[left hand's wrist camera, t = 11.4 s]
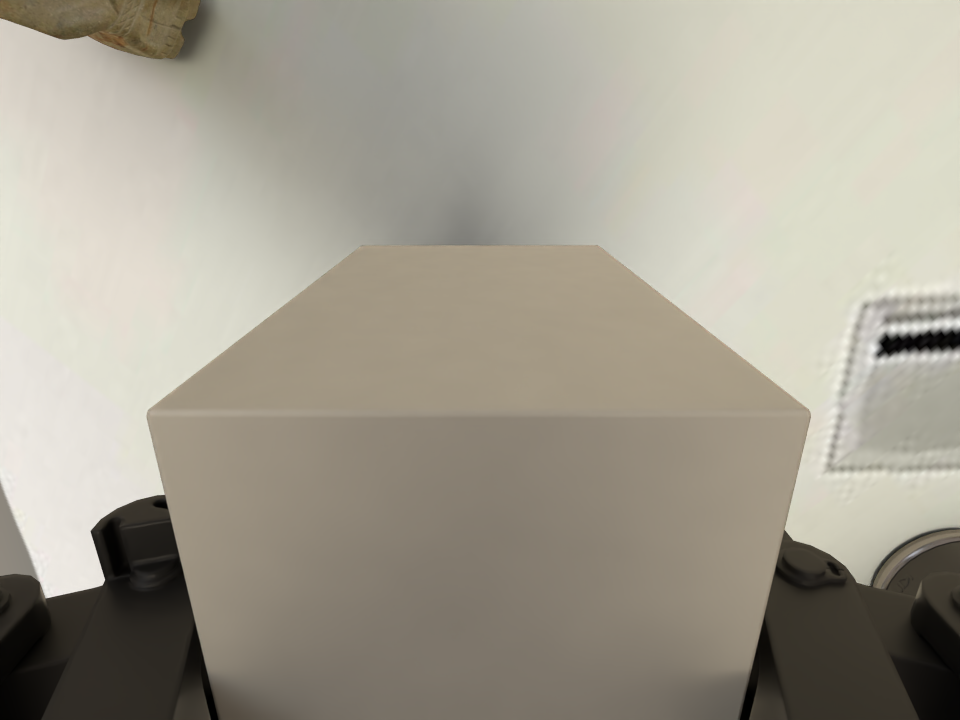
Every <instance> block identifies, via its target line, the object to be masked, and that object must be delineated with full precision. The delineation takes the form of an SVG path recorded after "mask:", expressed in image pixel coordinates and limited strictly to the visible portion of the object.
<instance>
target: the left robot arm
mask: <svg viewBox="0 0 960 720" xmlns="http://www.w3.org/2000/svg"><path fill="white" fill-rule="evenodd" d="M91 534H92V538H93V541H94V544H95V547H96V551H97V554H98V557H99V561H100V564H101V567H102V571H103V574H104V577H105V582H104V584H103V586H99V587H96V588H92V589H88V590H83V591H78V592H74V593H69V594H65V595H60V596H55V597H51V598H46V599H45V596H44V593H43V590H42V588H41V585H40V582H38V581H37V580H36V579H35V578H33V577H32V576H29V575H20V574H11V575H5V576H0V720H219V719H218V715H217V711H216V707H215V703H214V698H213V694H212V690H211V686H210V682H209V677H208V673H207V669H206V665H205V661H204V656H203V652H202V648H201V644H200V640H199V635H198V631H197V627H196V623H195V618H194V614H193V610H192V606H191V602H190V597H189V593H188V589H187V585H186V581H185V576H184V572H183V568H182V564H181V560H180V555H179V551H178V547H177V543H176V539H175V534H174V530H173V526H172V522H171V518H170V513H169V509H168V505H167V501H166V497H165V495H157V496H153V497H148V498H144V499H140V500H136V501H134V502H132V503H129V504H127V505H125V506H122V507H120V508H117V509H116V510H114V511H113V512H111V513H110V514H108V515H107V516H105V517H104V518H102V519H101V520H100V521H99V522H98V523H97V524H96V526H95V527H94V528H93V529H92V530H91ZM740 720H960V574H959V573H953V572H938V573H930V574H929V575H928V576H926V577H925V578H924V579H922V581H921V583H920V586H919V589H918V592H917V595H916V596H912V595H907V594H903V593H898V592H893V591H889V590H884V589H879V588H875V587H870V586H866V585H863V584H859V583H856V581H855V579H854V577H853V576H852V575H851V573H850V572H849V571H848V569H847V568H846V567H845V566H844V565H843V564H842V563H840V562H839V561H838V560H836V559H835V558H834V557H832V556H831V555H830V554H828V553H825V552H823V551H821V550H819V549H817V548H815V547H813V546H811V545H807V544H803V543H800V542H796V541H793V540H792V538H791V537H790V536H789V535H788V534H787V532H786V531H785V530H784V533H783V538H782V542H781V546H780V550H779V555H778V559H777V563H776V567H775V572H774V576H773V580H772V584H771V589H770V593H769V597H768V601H767V606H766V610H765V614H764V619H763V623H762V627H761V631H760V636H759V640H758V644H757V648H756V653H755V657H754V661H753V665H752V670H751V674H750V678H749V682H748V687H747V691H746V695H745V700H744V704H743V708H742V712H741V717H740Z"/></svg>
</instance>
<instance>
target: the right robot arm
mask: <svg viewBox="0 0 960 720" xmlns="http://www.w3.org/2000/svg"><path fill="white" fill-rule="evenodd" d="M938 572H953V573H959V574H960V530H945V531H940V532H935V533H932V534H928V535H925V536H923V537H920V538H918V539H916V540H914V541H912V542H910V543H908V544H907V545H905V546H904V547H902V548H901V549H899V550H898V551H897V552H896V553H894V554H893V555H892V556H891V557H890V558H889V559H888V560H887V561H886V562H885V564H884V565H883V566H882V568H881V569H880V570H879V572H878V574H877V576H876V578H875V580H874V583H873V587H875V588H879V589H884V590H889V591H893V592H898V593H903V594H907V595H912V596H916V595H917V592H918V589H919V586H920V583H921V581H922V579H924V578H925V577H926V576H928V575H929V574H930V573H938Z"/></svg>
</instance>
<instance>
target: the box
mask: <svg viewBox="0 0 960 720" xmlns="http://www.w3.org/2000/svg"><path fill="white" fill-rule="evenodd" d="M810 418H811V415H810V411H809V409H807V408H806V407H805V406H803V405H802V404H801V403H800V402H798V401H797V400H796V399H795V398H793V397H792V396H791V395H789V394H788V393H787V392H786V391H784V390H783V389H782V388H780V387H779V386H778V385H777V384H775V383H774V382H773V381H771V380H770V379H769V378H768V377H766V376H765V375H764V374H762V373H761V372H760V371H759V370H757V369H756V368H755V367H753V366H752V365H751V364H750V363H748V362H747V361H746V360H744V359H743V358H742V357H741V356H739V355H738V354H737V353H736V352H734V351H733V350H732V349H730V348H729V347H728V346H727V345H725V344H724V343H723V342H721V341H720V340H719V339H718V338H716V337H715V336H714V335H712V334H711V333H710V332H709V331H707V330H706V329H705V328H703V327H702V326H701V325H700V324H698V323H697V322H696V321H694V320H693V319H692V318H691V317H689V316H688V315H687V314H685V313H684V312H683V311H682V310H680V309H679V308H678V307H677V306H675V305H674V304H673V303H671V302H670V301H669V300H668V299H666V298H665V297H664V296H662V295H661V294H660V293H659V292H657V291H656V290H655V289H653V288H652V287H651V286H650V285H648V284H647V283H646V282H644V281H643V280H642V279H641V278H639V277H638V276H637V275H635V274H634V273H633V272H632V271H630V270H629V269H628V268H627V267H625V266H624V265H623V264H621V263H620V262H619V261H618V260H616V259H615V258H614V257H612V256H611V255H610V254H609V253H607V252H606V251H605V250H603V249H602V248H601V247H600V246H598V245H362V246H360V247H359V248H358V249H357V250H355V251H354V252H353V253H351V254H350V255H349V256H347V257H346V258H345V259H344V260H342V261H341V262H340V263H338V264H337V265H336V266H334V267H333V268H332V269H331V270H329V271H328V272H327V273H325V274H324V275H323V276H322V277H320V278H319V279H318V280H316V281H315V282H314V283H312V284H311V285H310V286H309V287H307V288H306V289H305V290H303V291H302V292H301V293H299V294H298V295H297V296H296V297H294V298H293V299H292V300H290V301H289V302H288V303H286V304H285V305H284V306H283V307H281V308H280V309H279V310H277V311H276V312H275V313H273V314H272V315H271V316H270V317H268V318H267V319H266V320H264V321H263V322H262V323H260V324H259V325H258V326H257V327H255V328H254V329H253V330H251V331H250V332H249V333H247V334H246V335H245V336H244V337H242V338H241V339H240V340H238V341H237V342H236V343H234V344H233V345H232V346H231V347H229V348H228V349H227V350H225V351H224V352H223V353H221V354H220V355H219V356H218V357H216V358H215V359H214V360H212V361H211V362H210V363H208V364H207V365H206V366H205V367H203V368H202V369H201V370H199V371H198V372H197V373H195V374H194V375H193V376H192V377H190V378H189V379H188V380H186V381H185V382H184V383H182V384H181V385H180V386H179V387H177V388H176V389H175V390H173V391H172V392H171V393H170V394H168V395H167V396H166V397H164V398H163V399H162V400H160V401H159V402H158V403H157V404H155V405H154V406H153V407H151V408H150V409H149V410H148V412H147V421H148V425H149V429H150V433H151V438H152V442H153V446H154V450H155V454H156V459H157V463H158V467H159V471H160V475H161V480H162V484H163V488H164V492H165V497H166V501H167V505H168V509H169V513H170V518H171V522H172V526H173V530H174V534H175V539H176V543H177V547H178V551H179V555H180V560H181V564H182V568H183V572H184V576H185V581H186V585H187V589H188V593H189V597H190V602H191V606H192V610H193V614H194V618H195V623H196V627H197V631H198V635H199V640H200V644H201V648H202V652H203V656H204V661H205V665H206V669H207V673H208V677H209V682H210V686H211V690H212V694H213V698H214V703H215V707H216V711H217V715H218V719H219V720H740V717H741V712H742V708H743V704H744V700H745V695H746V691H747V687H748V682H749V678H750V674H751V670H752V665H753V661H754V657H755V653H756V648H757V644H758V640H759V636H760V631H761V627H762V623H763V619H764V614H765V610H766V606H767V601H768V597H769V593H770V589H771V584H772V580H773V576H774V572H775V567H776V563H777V559H778V555H779V550H780V546H781V542H782V538H783V533H784V529H785V525H786V520H787V516H788V512H789V508H790V503H791V499H792V495H793V491H794V486H795V482H796V478H797V474H798V469H799V465H800V461H801V457H802V452H803V448H804V444H805V439H806V435H807V431H808V427H809V422H810Z"/></svg>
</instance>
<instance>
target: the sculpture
mask: <svg viewBox="0 0 960 720" xmlns="http://www.w3.org/2000/svg"><path fill="white" fill-rule="evenodd" d="M200 1H201V0H0V18H1V19H5V20H8V21H11V22H14V23H16V24H19V25H22V26H25V27H28V28H31V29H34V30H37V31H39V32H42V33H44V34H47V35H50V36H53V37H56V38H59V39H64V40H66V39H74V38H81V37H84V36H89V37H91V38H93V39H94V40H96V41H98V42H100V43H102V44H105V45H107V46H110V47H112V48H115V49H118V50H121V51H124V52H128V53H131V54H135V55H139V56H144V57H149V58H153V59H163V58H170V59H173V58H175V57H176V56H177V55H178V53H179V51H180V50H181V48H182V46H183V44H184V37H183V36H182V33H181V29H182V27H183V24H184V22H185V21H188V20H192V19H194V18H195V17H196V14H197V11H198V8H199V4H200Z"/></svg>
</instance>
